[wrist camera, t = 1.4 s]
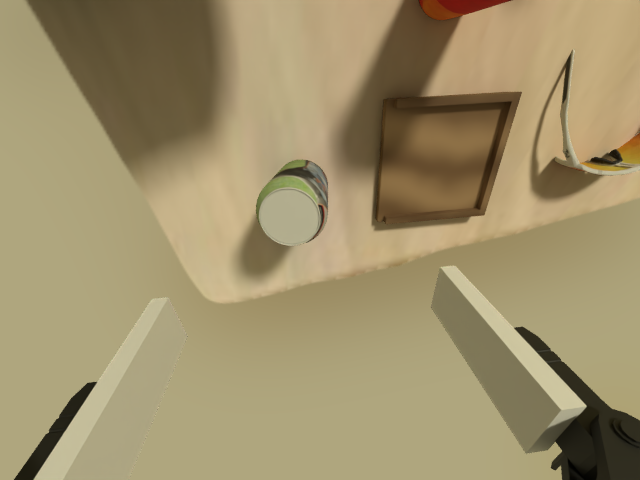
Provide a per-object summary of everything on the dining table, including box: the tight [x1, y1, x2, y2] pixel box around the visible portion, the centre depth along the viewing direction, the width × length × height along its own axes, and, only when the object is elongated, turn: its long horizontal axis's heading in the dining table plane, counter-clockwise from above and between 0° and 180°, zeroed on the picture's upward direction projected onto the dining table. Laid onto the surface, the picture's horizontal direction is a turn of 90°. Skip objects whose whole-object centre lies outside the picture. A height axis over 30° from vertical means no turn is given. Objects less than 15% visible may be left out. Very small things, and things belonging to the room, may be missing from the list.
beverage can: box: [256, 160, 328, 246], centre depth 25 cm, size 6×7×12 cm
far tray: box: [376, 92, 522, 224], centre depth 30 cm, size 14×14×2 cm
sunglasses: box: [555, 49, 640, 176], centre depth 29 cm, size 14×15×5 cm
